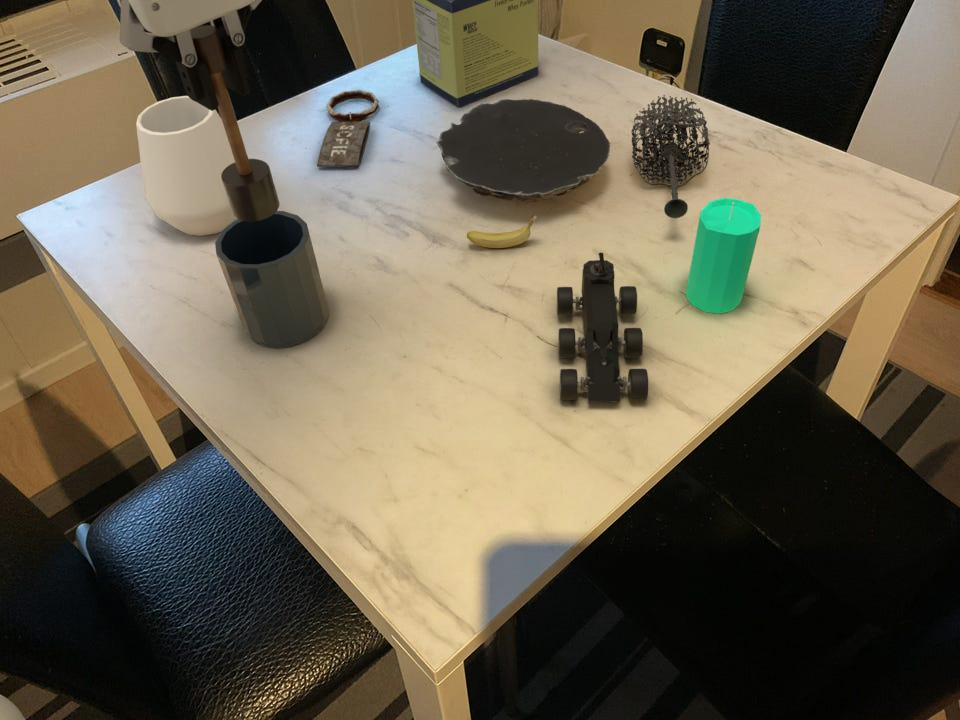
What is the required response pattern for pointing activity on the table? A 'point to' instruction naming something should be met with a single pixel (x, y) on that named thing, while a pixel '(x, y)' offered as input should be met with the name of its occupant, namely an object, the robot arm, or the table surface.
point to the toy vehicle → (600, 337)
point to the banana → (501, 237)
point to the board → (524, 149)
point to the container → (273, 279)
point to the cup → (185, 165)
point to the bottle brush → (236, 140)
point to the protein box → (475, 46)
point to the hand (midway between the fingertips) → (221, 95)
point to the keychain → (346, 131)
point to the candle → (722, 254)
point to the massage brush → (670, 147)
